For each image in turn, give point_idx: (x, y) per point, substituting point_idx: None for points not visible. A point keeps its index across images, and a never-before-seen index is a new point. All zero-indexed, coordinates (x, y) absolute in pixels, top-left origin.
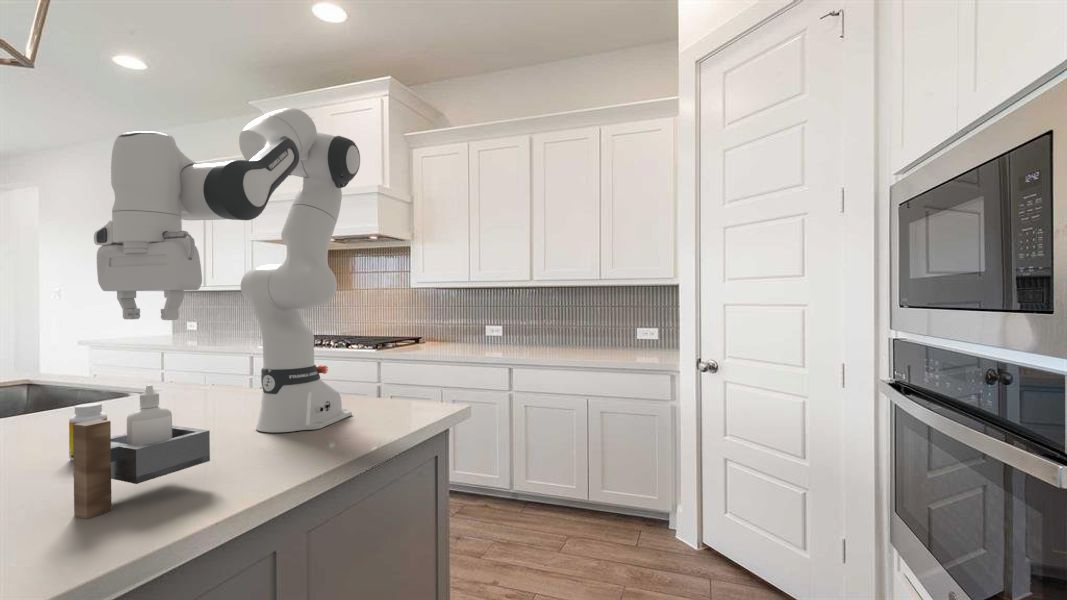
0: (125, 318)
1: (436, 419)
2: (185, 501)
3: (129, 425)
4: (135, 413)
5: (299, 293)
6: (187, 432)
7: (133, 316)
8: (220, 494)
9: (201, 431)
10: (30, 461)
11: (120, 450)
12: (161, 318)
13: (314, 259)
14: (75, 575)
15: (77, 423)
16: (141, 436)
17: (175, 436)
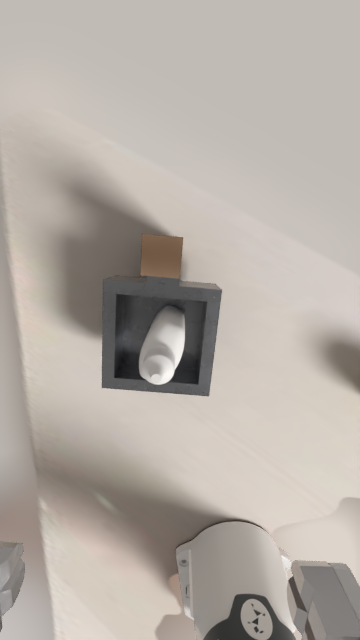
0: (329, 563)
1: (56, 615)
2: (101, 310)
3: (165, 318)
4: (161, 332)
5: None
6: (138, 378)
7: (299, 591)
8: (83, 337)
9: (108, 380)
10: None
11: (143, 282)
12: (14, 544)
13: None
14: (21, 146)
15: (179, 243)
16: (153, 323)
17: None
